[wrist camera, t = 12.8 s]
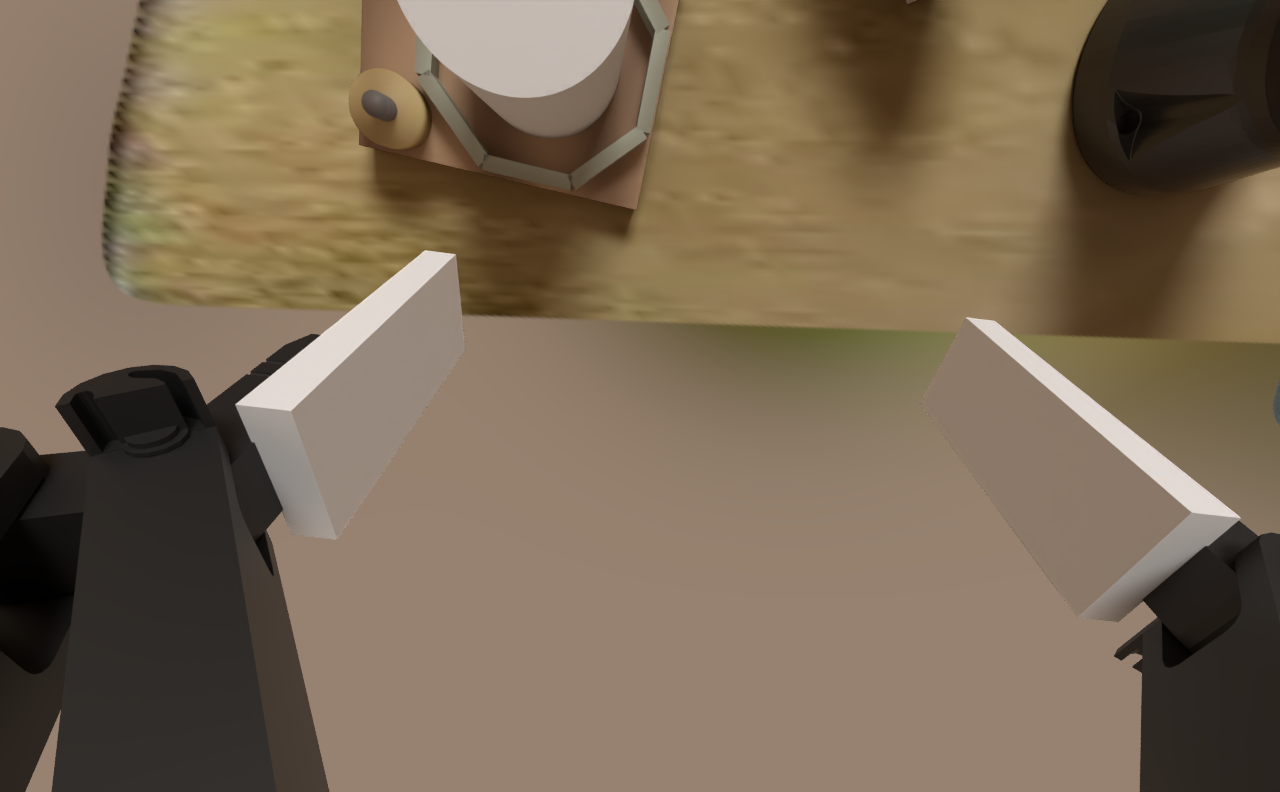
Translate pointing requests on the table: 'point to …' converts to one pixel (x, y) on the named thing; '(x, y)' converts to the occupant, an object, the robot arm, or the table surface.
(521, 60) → the tall round pillar
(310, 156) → the table surface
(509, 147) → the gear board
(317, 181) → the table surface
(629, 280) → the table surface
